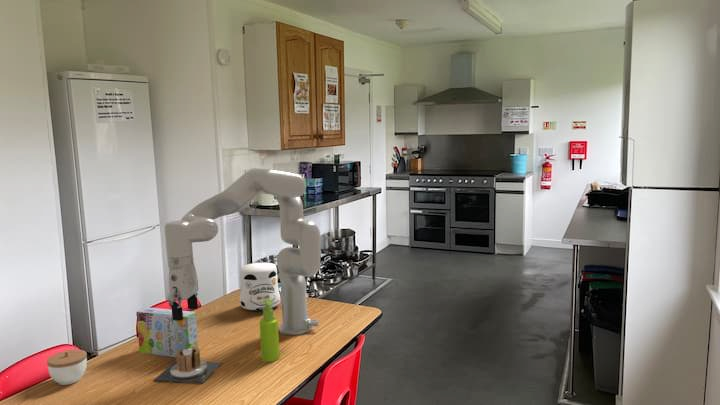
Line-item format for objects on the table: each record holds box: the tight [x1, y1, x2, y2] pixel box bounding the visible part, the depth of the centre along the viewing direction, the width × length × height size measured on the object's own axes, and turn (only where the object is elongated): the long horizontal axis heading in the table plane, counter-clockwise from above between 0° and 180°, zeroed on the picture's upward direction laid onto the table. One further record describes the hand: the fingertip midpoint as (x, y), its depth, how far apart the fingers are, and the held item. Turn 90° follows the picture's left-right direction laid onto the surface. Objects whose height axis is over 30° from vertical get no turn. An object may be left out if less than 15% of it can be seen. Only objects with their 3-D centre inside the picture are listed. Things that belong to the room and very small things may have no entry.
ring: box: [175, 347, 201, 372], centre depth 164 cm, size 7×7×5 cm
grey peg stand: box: [153, 347, 223, 385], centre depth 164 cm, size 16×14×8 cm
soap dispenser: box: [259, 299, 280, 363], centre depth 172 cm, size 6×7×20 cm
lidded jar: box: [46, 349, 88, 386], centre depth 161 cm, size 11×11×9 cm
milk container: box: [238, 262, 281, 312], centre depth 223 cm, size 17×17×18 cm
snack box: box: [136, 306, 199, 358], centre depth 179 cm, size 21×6×15 cm, turn 71°
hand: (185, 314), depth 162 cm, fingers open, 9 cm apart
